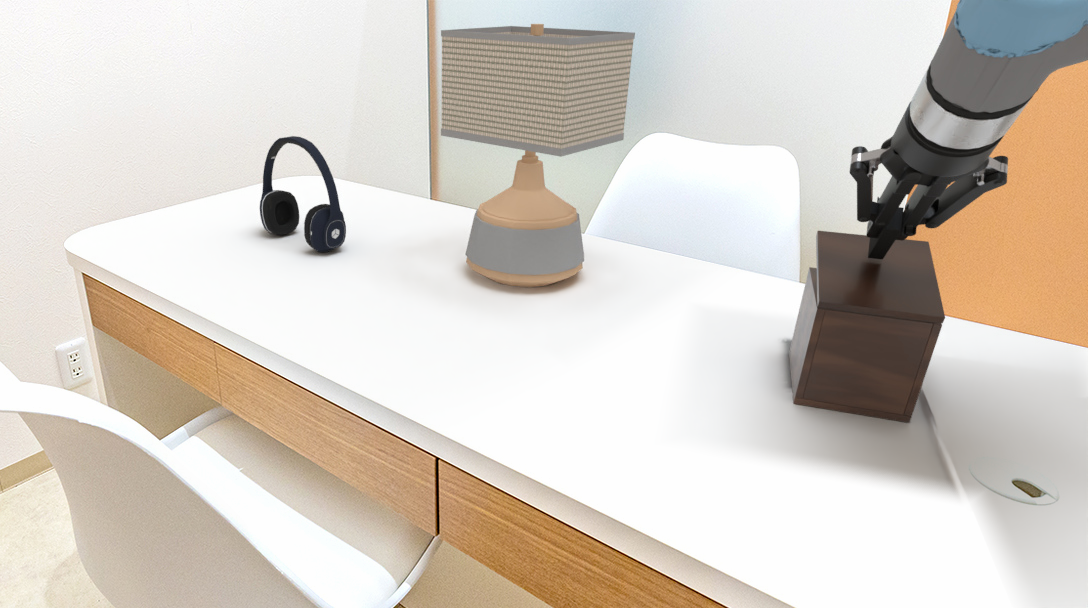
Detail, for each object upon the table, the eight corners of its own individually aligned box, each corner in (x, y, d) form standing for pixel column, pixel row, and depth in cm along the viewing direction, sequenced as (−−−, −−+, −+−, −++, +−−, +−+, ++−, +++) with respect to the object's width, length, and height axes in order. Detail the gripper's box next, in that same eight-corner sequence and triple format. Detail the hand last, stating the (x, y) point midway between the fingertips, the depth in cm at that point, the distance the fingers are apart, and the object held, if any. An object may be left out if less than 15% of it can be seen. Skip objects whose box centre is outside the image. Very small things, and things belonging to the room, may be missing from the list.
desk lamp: (613, 273, 121) (641, 24, 104) (544, 307, 108) (563, 30, 92) (507, 244, 134) (517, 19, 117) (434, 271, 121) (433, 23, 104)
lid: (815, 236, 89) (817, 230, 89) (926, 247, 86) (928, 241, 85) (817, 307, 79) (819, 301, 78) (942, 323, 75) (945, 317, 75)
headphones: (354, 250, 130) (348, 143, 122) (322, 259, 126) (314, 148, 118) (287, 226, 143) (277, 127, 134) (255, 234, 138) (244, 132, 130)
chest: (788, 353, 95) (809, 267, 90) (890, 368, 92) (918, 279, 87) (793, 403, 84) (817, 308, 79) (909, 423, 81) (942, 324, 75)
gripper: (1053, 80, 61) (945, 224, 82) (875, 72, 65) (816, 212, 86) (1051, 159, 59) (940, 286, 80) (866, 146, 63) (808, 270, 84)
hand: (876, 247), depth 83 cm, fingers closed
